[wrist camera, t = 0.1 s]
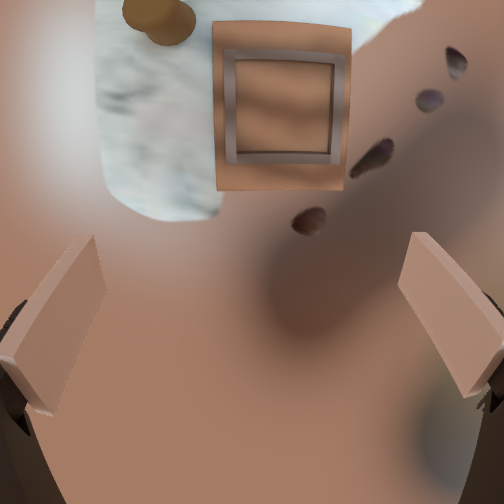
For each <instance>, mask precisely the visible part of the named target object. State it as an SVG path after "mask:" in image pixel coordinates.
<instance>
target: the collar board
mask: <svg viewBox="0 0 504 504" xmlns="http://www.w3.org/2000/svg"><path fill="white" fill-rule="evenodd" d="M351 42H352V31H351V29H350V28H343V27H336V26H328V25H320V24H310V23H299V22H284V21H213V97H214V132H215V160H216V184H217V191H244V190H343V186H344V176H345V175H344V174H345V164H346V153H347V141H348V140H347V139H348V125H349V109H350V87H351Z"/></svg>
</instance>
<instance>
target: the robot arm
mask: <svg viewBox="0 0 504 504" xmlns="http://www.w3.org/2000/svg"><path fill="white" fill-rule="evenodd" d="M398 287H399V288H400V290H401V291H402V293H403V294H404V296H405V297H406V299H407V301H408V302H409V304H410V305H411V307H412V308H413V310H414V312H415V313H416V315H417V316H418V318H419V320H420V321H421V323H422V325H423V326H424V328H425V330H426V331H427V333H428V334H429V336H430V338H431V340H432V341H433V343H434V345H435V346H436V348H437V350H438V352H439V353H440V355H441V357H442V359H443V360H444V362H445V364H446V366H447V367H448V369H449V371H450V373H451V375H452V376H453V378H454V380H455V382H456V384H457V386H458V388H459V390H460V392H461V394H462V396H463V397H464V398H467V397H470V396H472V395H476V394H478V393H480V391H481V390H482V389H483V387H484V386H485V384H486V383H487V382H488V383H489V385H490V387H491V388H490V390H489V391H488V392H487V394H486V395H485V396H484V397H483V399H482V400H481V401H480V402H479V404H478V406H477V409H479V408H480V407H481V406H482V404H483V403H485V407H484V408H483V409H482V411H484V413H483V418H482V423H481V428H480V432H479V437H478V441H477V445H476V449H475V453H474V457H473V460H472V464H471V467H470V471H469V474H468V477H467V481H466V483H465V486H464V489H463V492H462V495H461V498H460V501H459V503H458V504H504V314H503V312H502V310H501V309H500V308H498V306H497V304H496V303H495V302H494V301H493V300H492V298H491V297H490V296H488V295H487V294H486V293H484V292H483V291H482V290H480V289H479V287H478V286H477V285H476V284H475V283H474V282H473V281H472V280H471V279H470V278H469V276H468V275H467V274H466V273H465V272H464V271H463V270H462V269H461V268H460V267H459V265H458V264H457V263H456V262H455V261H454V260H453V259H452V258H451V257H450V256H449V255H448V254H447V253H446V252H445V251H444V250H443V249H442V248H441V247H440V245H438V243H437V242H436V241H435V240H434V239H432V238H431V236H429V235H428V234H427V233H426V232H412V236H411V239H410V243H409V247H408V251H407V254H406V258H405V262H404V265H403V269H402V272H401V275H400V279H399V282H398ZM107 291H108V289H107V286H106V283H105V279H104V275H103V271H102V267H101V264H100V260H99V256H98V252H97V247H96V243H95V239H94V235H84V236H83V235H81V236H77V237H76V239H75V240H74V241H73V242H72V243H71V245H70V246H69V247H68V248H67V249H66V251H65V252H64V253H63V254H62V256H61V257H60V258H59V259H58V261H57V262H56V263H55V265H54V266H53V267H52V269H51V270H50V271H49V272H48V274H47V275H46V277H45V278H44V279H43V280H42V282H41V283H40V285H39V286H38V287H37V289H36V290H35V292H34V293H33V294H32V296H31V297H30V298H29V300H25V301H24V302H22V303H21V304H20V305H19V306H17V307H16V308H15V310H14V311H13V312H12V314H11V315H10V317H9V318H8V319H9V320H7V321H6V323H5V324H4V326H3V329H1V330H0V504H66V502H65V500H64V498H63V496H62V494H61V492H60V490H59V488H58V486H57V484H56V482H55V480H54V478H53V476H52V474H51V471H50V470H49V467H48V465H47V462H46V460H45V458H44V456H43V453H42V450H41V448H40V446H39V443H38V440H37V438H36V435H35V432H34V430H33V427H32V424H31V421H30V418H29V416H28V414H27V412H26V410H25V407H26V404H27V402H28V403H29V404H30V405H31V407H32V408H33V409H34V410H35V411H36V412H38V413H42V414H45V415H50V416H55V413H56V411H57V408H58V405H59V402H60V399H61V397H62V394H63V392H64V389H65V386H66V384H67V381H68V379H69V376H70V374H71V371H72V369H73V366H74V364H75V361H76V359H77V357H78V354H79V352H80V349H81V347H82V345H83V343H84V340H85V338H86V336H87V334H88V331H89V329H90V327H91V325H92V323H93V320H94V318H95V316H96V314H97V312H98V310H99V308H100V305H101V303H102V301H103V299H104V297H105V295H106V293H107Z"/></svg>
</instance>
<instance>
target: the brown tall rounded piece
mask: <svg viewBox="0 0 504 504" xmlns="http://www.w3.org/2000/svg"><path fill="white" fill-rule="evenodd" d="M122 11H123V17H124V19H125V21H126V23H127V24H128V25H129V26H130V27H132V28H133V29H136V30H138V31H141V32H145V33H146V34H147V36H148V37H149V38H150V39H151V40H152V41H153V42H154V43H157V44H159V45H163V46H171V45H176V44H179V43H181V42H183V41H184V40H186V39H187V38H188V37H189V36H190V35H191V33H192V32H193V30H194V28H195V24H196V18H195V14H194V12H193V10H192V9H191V8H190V7H189V6H188V5H187V4H185V3H183V2H182V1H180V0H125V1H124V4H123V8H122Z"/></svg>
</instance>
